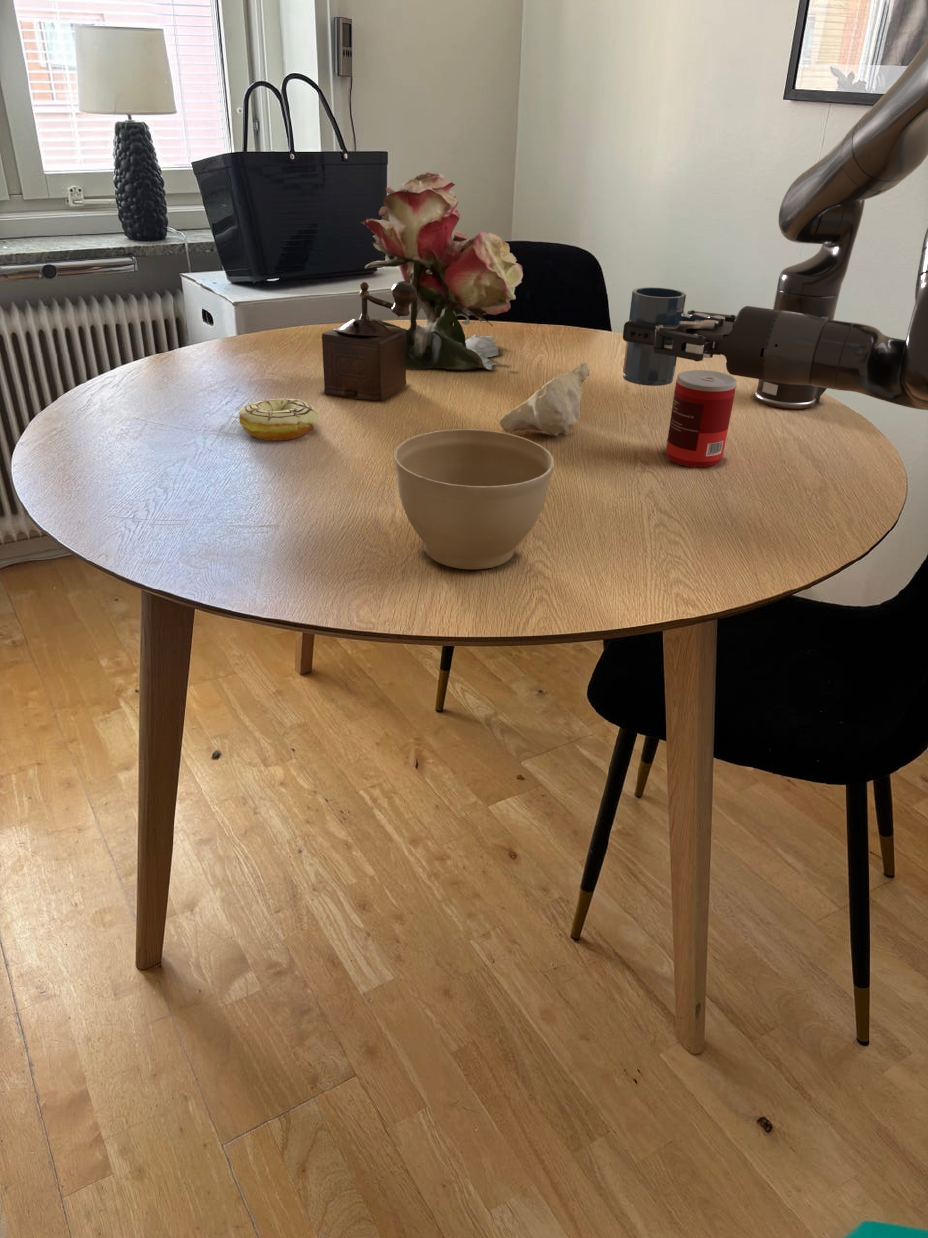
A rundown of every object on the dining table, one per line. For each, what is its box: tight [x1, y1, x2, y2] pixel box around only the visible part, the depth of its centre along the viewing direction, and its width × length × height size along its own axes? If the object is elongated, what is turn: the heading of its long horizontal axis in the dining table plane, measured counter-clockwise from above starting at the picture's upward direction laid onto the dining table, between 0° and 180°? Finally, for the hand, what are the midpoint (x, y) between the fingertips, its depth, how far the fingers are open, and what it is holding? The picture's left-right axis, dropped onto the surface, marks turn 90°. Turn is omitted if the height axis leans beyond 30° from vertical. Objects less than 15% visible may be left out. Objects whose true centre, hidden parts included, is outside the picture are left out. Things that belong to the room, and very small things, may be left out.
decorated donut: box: [238, 398, 319, 442], centre depth 127 cm, size 10×11×4 cm
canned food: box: [665, 369, 737, 468], centre depth 121 cm, size 8×8×11 cm
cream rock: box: [498, 362, 591, 437], centre depth 131 cm, size 15×7×15 cm
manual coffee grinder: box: [321, 280, 417, 402], centre depth 141 cm, size 16×11×18 cm
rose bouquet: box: [360, 171, 524, 371], centre depth 160 cm, size 26×29×30 cm
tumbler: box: [622, 286, 687, 387], centre depth 107 cm, size 6×6×10 cm
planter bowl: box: [393, 428, 555, 570], centre depth 94 cm, size 16×16×11 cm
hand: (635, 324), depth 107 cm, fingers closed on tumbler, 6 cm apart
